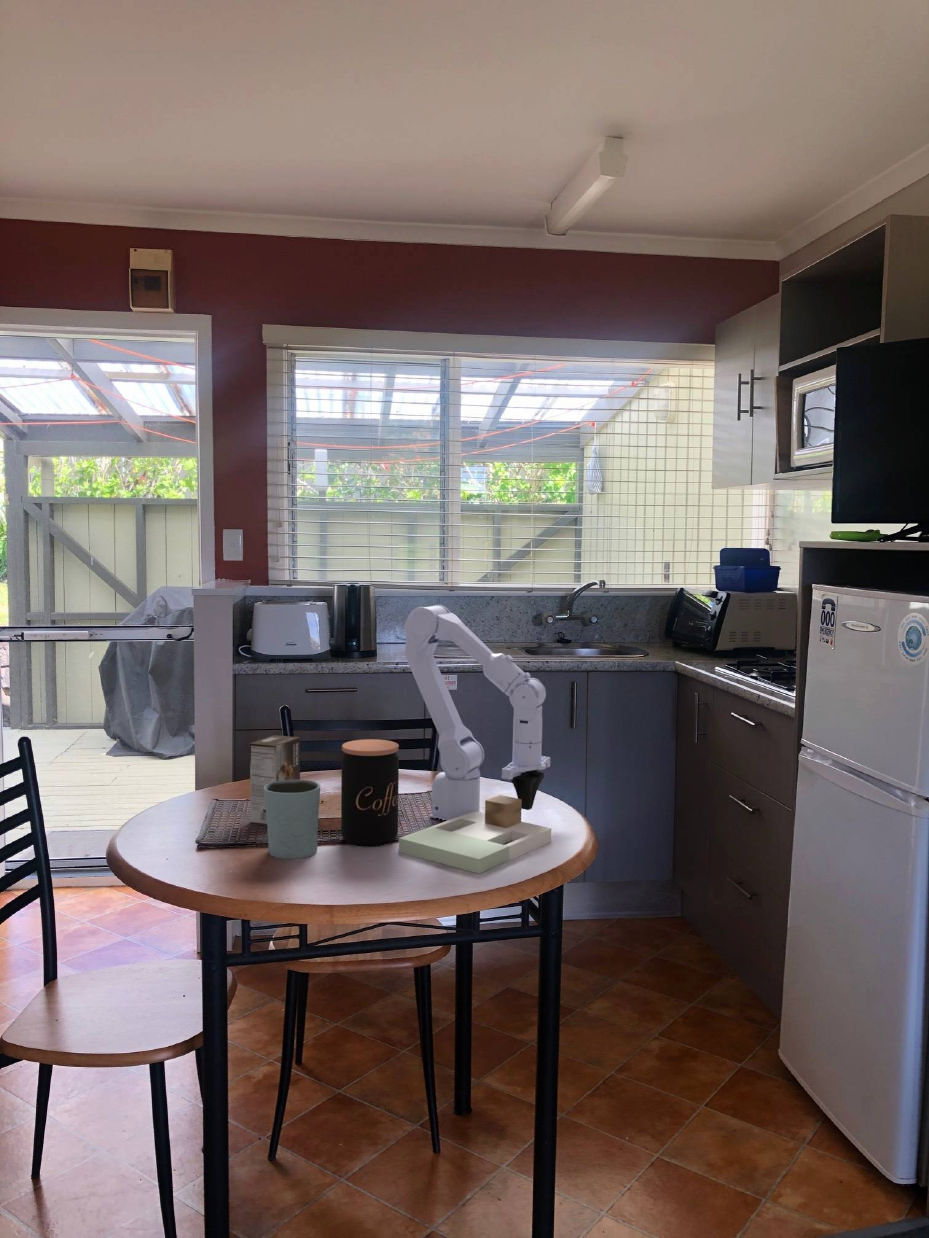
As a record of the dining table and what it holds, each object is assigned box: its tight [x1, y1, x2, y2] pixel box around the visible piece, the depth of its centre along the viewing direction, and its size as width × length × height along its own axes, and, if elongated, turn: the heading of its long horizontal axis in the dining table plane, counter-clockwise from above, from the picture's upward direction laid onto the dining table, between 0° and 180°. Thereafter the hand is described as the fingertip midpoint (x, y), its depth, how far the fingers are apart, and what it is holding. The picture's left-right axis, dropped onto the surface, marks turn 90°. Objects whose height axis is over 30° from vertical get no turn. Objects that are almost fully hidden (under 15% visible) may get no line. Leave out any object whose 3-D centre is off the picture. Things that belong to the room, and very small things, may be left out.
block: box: [484, 794, 522, 828], centre depth 179 cm, size 5×5×4 cm
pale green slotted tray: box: [398, 811, 552, 875], centre depth 173 cm, size 18×23×2 cm
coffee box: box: [249, 734, 301, 825], centre depth 188 cm, size 9×6×16 cm
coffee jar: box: [340, 738, 400, 848], centre depth 176 cm, size 11×11×18 cm
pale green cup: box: [263, 779, 321, 860], centre depth 168 cm, size 10×10×12 cm
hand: (525, 808), depth 186 cm, fingers closed
